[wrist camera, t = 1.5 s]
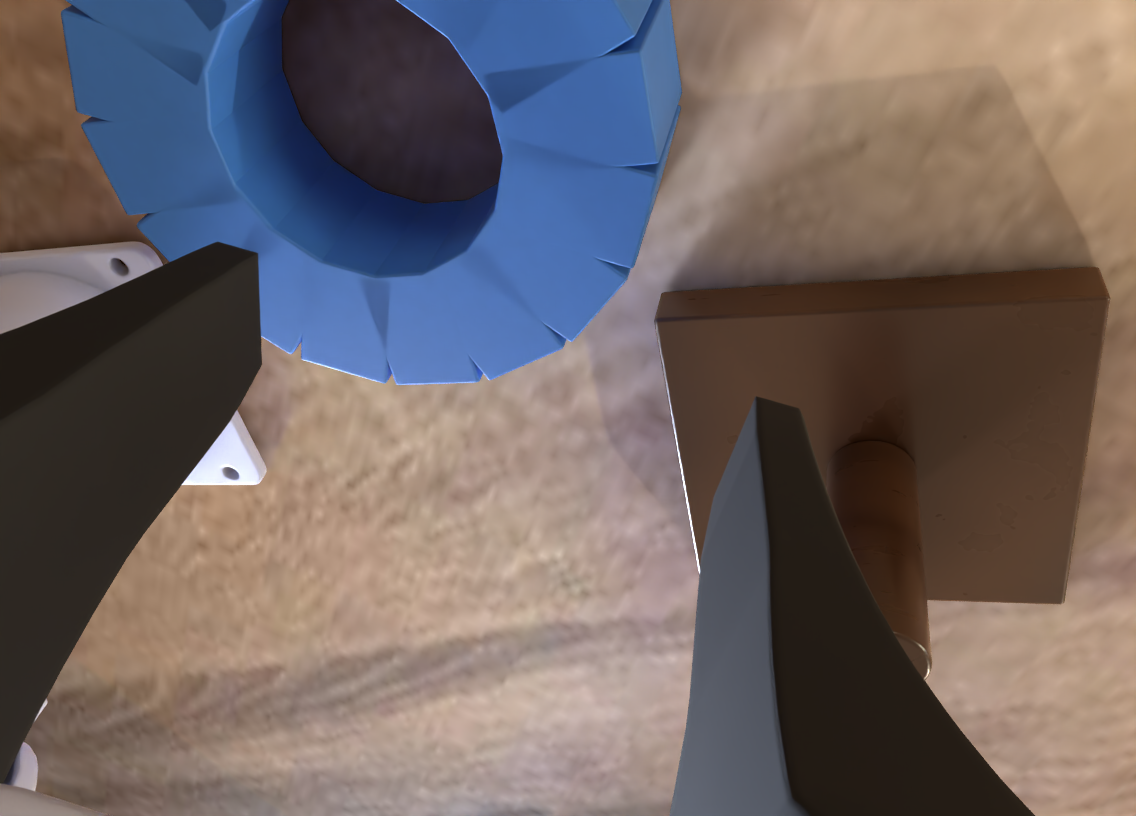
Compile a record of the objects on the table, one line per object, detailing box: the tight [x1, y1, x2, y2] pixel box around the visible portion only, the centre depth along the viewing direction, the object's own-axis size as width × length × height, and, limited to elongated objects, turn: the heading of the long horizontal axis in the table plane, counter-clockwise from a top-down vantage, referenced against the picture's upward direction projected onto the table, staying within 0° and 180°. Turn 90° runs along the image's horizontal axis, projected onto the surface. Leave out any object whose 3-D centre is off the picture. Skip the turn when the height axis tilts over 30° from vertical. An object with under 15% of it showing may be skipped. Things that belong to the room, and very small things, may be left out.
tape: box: [61, 0, 682, 385], centre depth 19 cm, size 11×11×3 cm
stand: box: [654, 267, 1110, 680], centre depth 21 cm, size 9×9×7 cm
